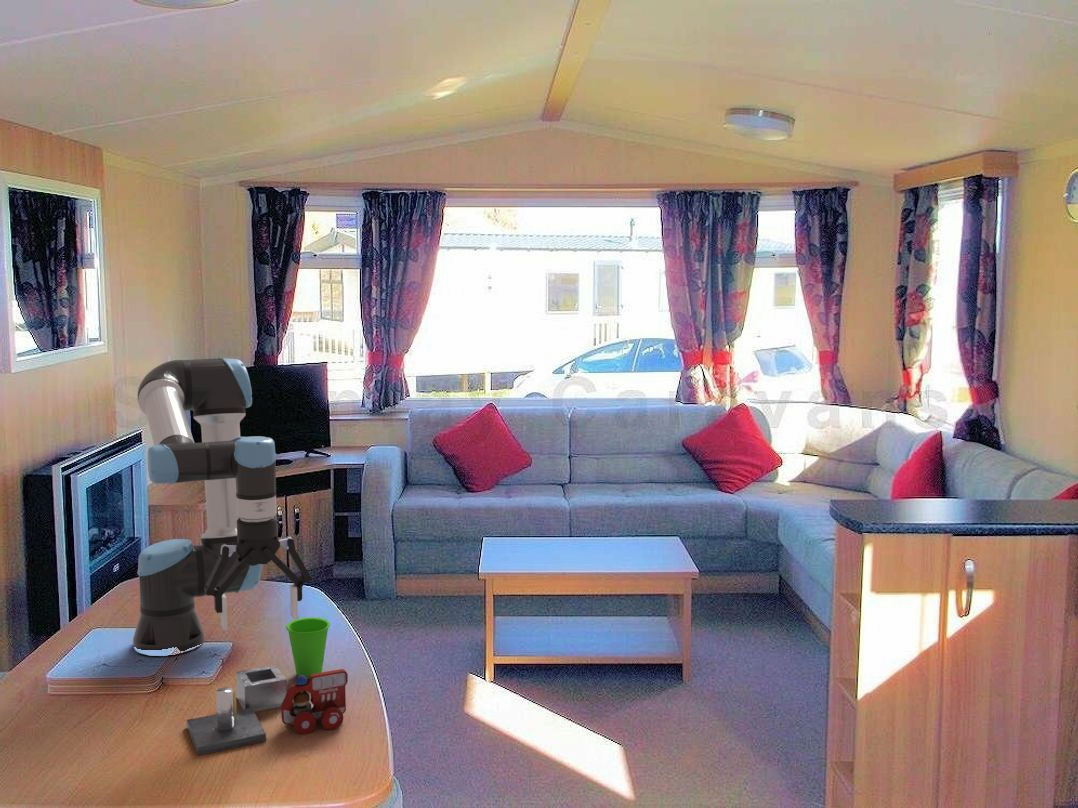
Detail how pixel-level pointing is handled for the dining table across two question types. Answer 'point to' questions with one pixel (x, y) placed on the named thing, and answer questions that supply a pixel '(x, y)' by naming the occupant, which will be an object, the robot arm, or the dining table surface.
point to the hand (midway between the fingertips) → (259, 622)
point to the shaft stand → (225, 726)
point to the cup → (308, 644)
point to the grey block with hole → (261, 688)
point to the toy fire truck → (316, 701)
